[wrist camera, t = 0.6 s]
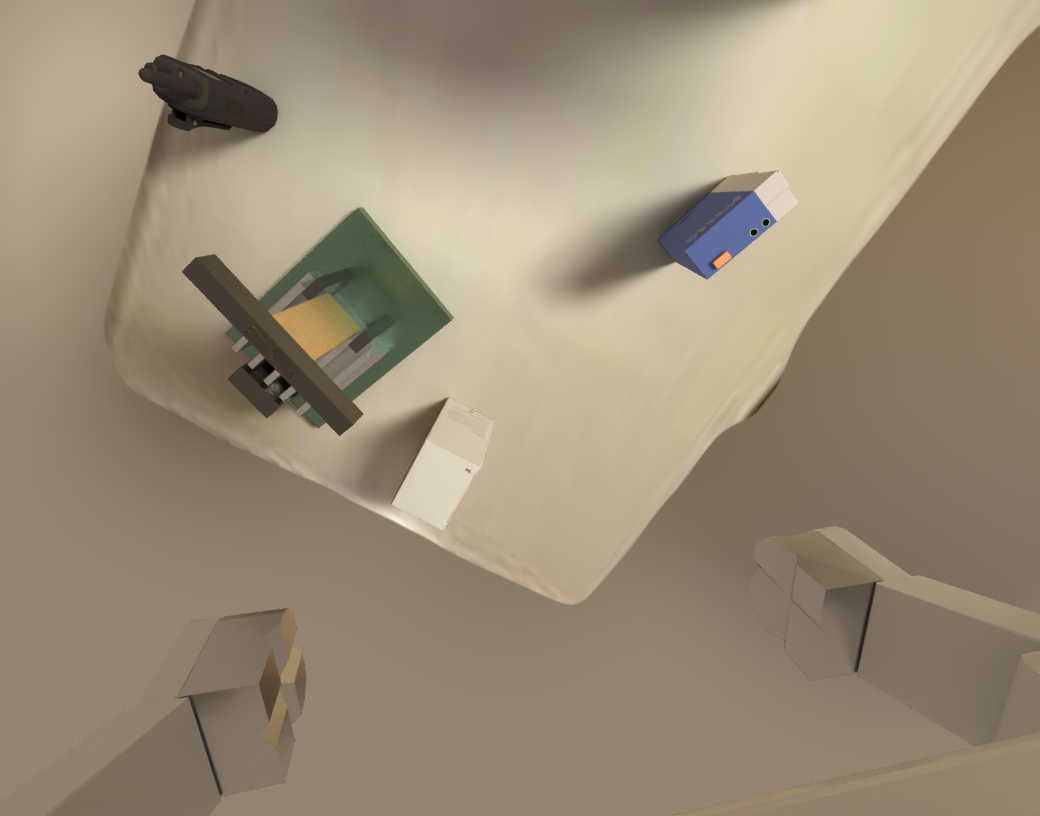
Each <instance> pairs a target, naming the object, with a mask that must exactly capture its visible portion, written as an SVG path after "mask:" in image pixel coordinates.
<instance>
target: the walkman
mask: <svg viewBox="0 0 1040 816" xmlns="http://www.w3.org/2000/svg"><path fill="white" fill-rule="evenodd" d="M788 186H790V184H789V183H788V182H787V180H786V179H785V177H784V176H783V175H782V173H781V172H780V171H771V172H763V173H759V172H754V173H747V174H739V175H732V176H728V177H727V178H726V179H725V180H723V181H722V182H721V183H720V184H719V185H718V186H717V187H716V188H714V189H713V190H712V191H711V192H710V193H709V194H708V195H707V196H706V197H704V198H703V199H702V200H701V201H700V202H699V203H698V204H697V205H696V206H694V207H693V208H692V209H691V210H690V211H689V212H688V213H687V214H685V215H684V216H683V217H682V218H681V219H680V220H679V221H678V222H676V223H675V224H674V225H673V226H672V227H671V228H670V229H669V230H668V231H666V232H665V233H664V234H663V235H662V236H661V237H660V238H659V239H658V241H659V242H660V244H661V245H662V246H663V247H664V248H665V250H666V251H667V252H668V253H669V254H670V256H671V257H672V258H673V259H674V261H675V262H677V263H679V264H680V265H682V266H684V267H686V268H688V269H689V270H691V271H693V272H695V273H697V274H698V275H700V276H702V277H704V278H706V279H709V278H710V277H711V276H712V275H713V274H715V273H716V272H717V271H718V270H719V269H721V268H722V267H723V266H724V265H725V264H727V263H728V262H729V261H730V260H731V259H733V258H734V257H735V256H736V255H737V254H739V253H740V252H741V251H742V250H743V249H745V248H746V247H747V246H748V245H749V244H750V243H752V242H753V241H754V240H755V239H756V238H758V237H759V236H760V235H761V234H762V233H764V232H765V231H766V230H767V229H768V228H770V227H771V226H772V225H773V224H774V223H776V222H777V220H778V219H780V218H781V217H782V216H783V215H784V214H786V213H787V212H788V211H789V210H790V209H792V208H793V207H794V206H795V205H796V204H798V203H799V202H798V201H797V199H796V198H795V197H794V195H793V194H792V193H791V191H790V190H789V189H788Z"/></svg>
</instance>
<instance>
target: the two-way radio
mask: <svg viewBox="0 0 1040 816" xmlns="http://www.w3.org/2000/svg"><path fill="white" fill-rule="evenodd" d="M139 76H140V78H141V79H142V80H143V81H144V82H147V83H150V84H152V86H153V91H154V92H155V93H156V94H157V95H158V96H159V98H161V99H162V100H163V101H165V102H166V103H168V106H169V107H171V108H172V114H171V115H170V114H169V116H168V124H170V125H172V126H174V127H176V128H178V129H182V130H186V131H190V130H191V129H193V128H196V127H202V126H204V127H213V128H219V129H224V130H230V129H231V126H234V127H238V128H243V129H247V130H251V131H258V132H266V131H268V130H269V129H270V128H271V127H273V126H274V125H275V123H276V120H277V113H278V110H277V106H276V104H275V102H274V101H273V99H271V98H270V97H268V96H267V95H265V94H264V93H262V92H261V91H259V90H257V89H255V88H253V87H251V86H249V85H247V84H245V83H243V82H241V81H238V80H236V79H233V78H230V77H228V76H225V75H222V74H217V73H216V72H214V71H212V70H209V69H206V70H205V69H203V68H202V67H200V66H198V65H197V66H196V65H193V64H188V63H185V62H182V61H179V60H177V59H174V58H172V57H169V56H166V55H160V56H158V57H156V58H155V60H154V62H153V63H146V65H145V66H144V68H142V69H140V70H139Z"/></svg>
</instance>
